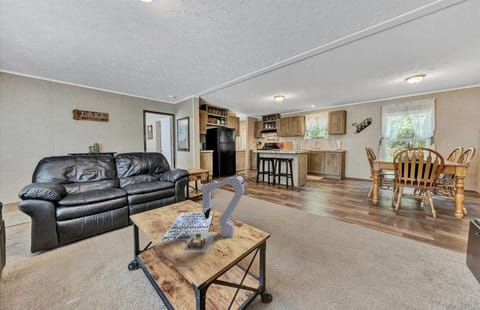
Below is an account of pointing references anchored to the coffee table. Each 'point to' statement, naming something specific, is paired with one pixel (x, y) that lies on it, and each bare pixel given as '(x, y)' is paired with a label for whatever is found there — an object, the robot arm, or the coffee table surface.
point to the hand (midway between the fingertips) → (207, 218)
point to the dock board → (208, 239)
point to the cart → (198, 239)
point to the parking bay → (196, 244)
